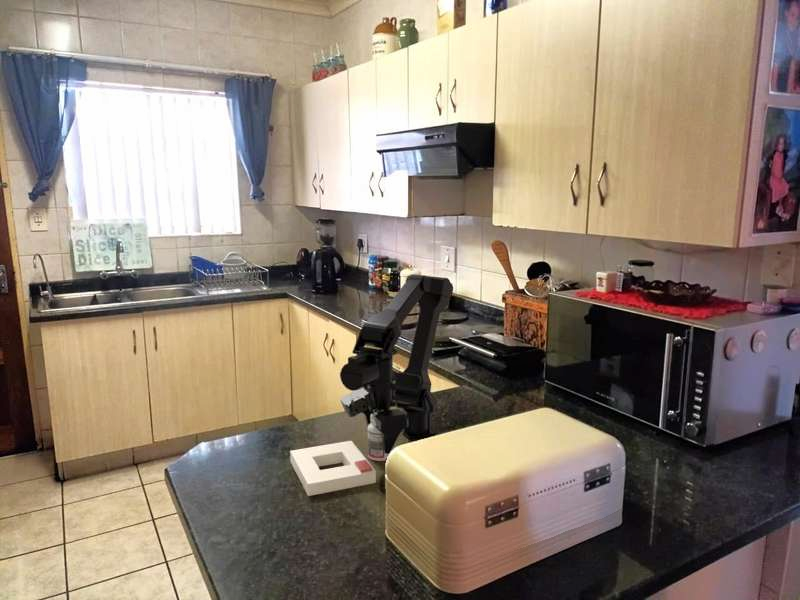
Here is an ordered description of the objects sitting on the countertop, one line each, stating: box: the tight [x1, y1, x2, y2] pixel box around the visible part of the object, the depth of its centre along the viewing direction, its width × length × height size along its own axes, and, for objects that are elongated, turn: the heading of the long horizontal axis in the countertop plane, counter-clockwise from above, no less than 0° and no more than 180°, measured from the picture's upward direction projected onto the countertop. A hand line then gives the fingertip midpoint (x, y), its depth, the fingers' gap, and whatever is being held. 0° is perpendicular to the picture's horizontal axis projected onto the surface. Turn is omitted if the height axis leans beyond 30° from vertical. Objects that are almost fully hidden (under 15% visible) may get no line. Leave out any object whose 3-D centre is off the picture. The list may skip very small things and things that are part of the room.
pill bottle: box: [367, 412, 389, 462], centre depth 129 cm, size 5×5×10 cm
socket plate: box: [289, 440, 377, 497], centre depth 122 cm, size 14×16×3 cm
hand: (379, 444), depth 130 cm, fingers open, 9 cm apart
